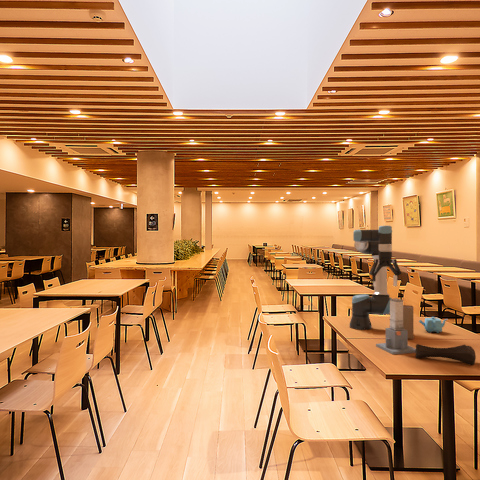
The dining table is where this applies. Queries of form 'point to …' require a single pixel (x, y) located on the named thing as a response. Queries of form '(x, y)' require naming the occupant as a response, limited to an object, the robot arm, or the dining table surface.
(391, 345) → the stand base
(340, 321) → the dining table surface
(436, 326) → the teapot
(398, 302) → the column
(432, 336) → the dining table surface
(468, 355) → the dark brown bone
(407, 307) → the wooden block
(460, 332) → the dining table surface
